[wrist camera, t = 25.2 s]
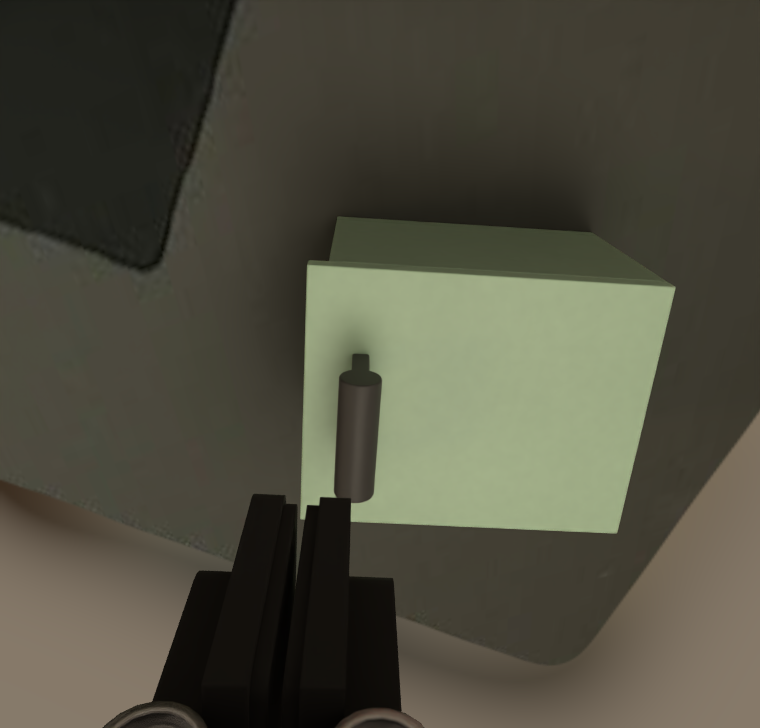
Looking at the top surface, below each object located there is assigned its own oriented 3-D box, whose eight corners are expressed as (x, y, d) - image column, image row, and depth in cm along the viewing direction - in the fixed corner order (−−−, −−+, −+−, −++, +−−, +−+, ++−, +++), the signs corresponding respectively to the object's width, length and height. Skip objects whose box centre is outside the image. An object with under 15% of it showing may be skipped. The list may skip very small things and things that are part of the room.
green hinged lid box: (328, 414, 41) (318, 510, 32) (337, 215, 36) (328, 260, 27) (556, 425, 41) (611, 523, 32) (592, 232, 37) (667, 281, 28)
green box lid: (301, 509, 32) (291, 572, 27) (308, 259, 27) (298, 290, 23) (611, 523, 32) (647, 587, 28) (668, 281, 28) (720, 315, 24)
